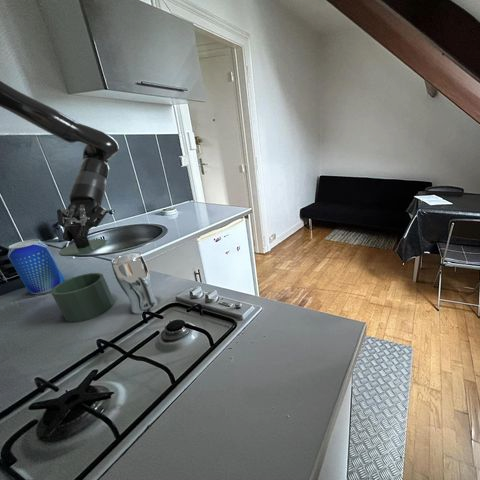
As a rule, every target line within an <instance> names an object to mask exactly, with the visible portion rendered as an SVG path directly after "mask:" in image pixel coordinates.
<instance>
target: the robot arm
mask: <svg viewBox="0 0 480 480" xmlns="http://www.w3.org/2000/svg"><path fill="white" fill-rule="evenodd" d="M0 108H2V109H4V110H6V111H8V112H10V113H12V114H13V115H16V116H17V117H19V118H21V119H23V120H25V121H26V122H28V123H30V124H32V125H34V126H36V127H37V128H39V129H41V130H43V131H45V132H46V133H49V134H51V135H52V136H55V137H57V138H58V139H60V140H61V141H62V140H63V141H65V142H67V143H70V144H75V143H83V144H85V146H84V148H83V152H82V163H81V165H80V168H79V170H78V174H77V175H76V177H75V179H74V182H73V185H72V188H71V191H70V195H69V201H70V203H69V205H68V206H67V208H65V209H61V208H59V209H57V210H56V217H57V223H58V226H59V227H62V228H64V231H63V233H62V239H63V240H64V241H66V242H72V241H73V239H72V237H71V234H70V232H69V230H68V228H67V225H69V224H73V223H81V226H80V227H79V230H78V233H77V239H79V240H81V241H82V240H85V239H86V238H88V235H89V233H90V230H91V229H92V228H98V226H99V225H100V224H101V222H102V221H103V219H104V218H105V217H106V215H108V212H109V210H107V209H106V208H105V207H103V206H102V204H103V200H104V196H105V193H106V189H107V182H108V178H109V174H110V166H109V164H108V163H109V161H110V159H112V158H113V156H115V155H116V154H117V153H118V151H119V149H120V147H119V144H118V142H117V140H115V138H113V137H112V136H111V135H109V134H108V133H107V132H103V131H102V130H99V129H96V128H94V127H92V126H88V125H85V124H82V123H80V122H77V121H76V120H74V119H73V118H71V117H69V116H67V115H66V114H64V113H63V112H60V111H58V110H56V109H55V108H53V107H51V106H49V105H48V104H45V103H43V102H41V101H39V100H37V99H35V98H33V97H30V96H29V95H26V94H25V93H23V92H20V91H19V90H17V89H15V88H14V87H11V86H10V85H8V84H6V83H4V82H3V81H2V80H0Z"/></svg>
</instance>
